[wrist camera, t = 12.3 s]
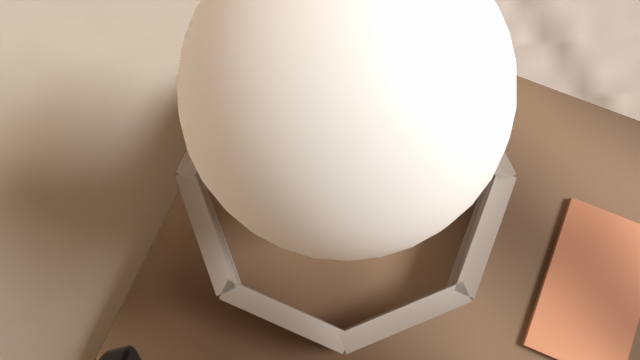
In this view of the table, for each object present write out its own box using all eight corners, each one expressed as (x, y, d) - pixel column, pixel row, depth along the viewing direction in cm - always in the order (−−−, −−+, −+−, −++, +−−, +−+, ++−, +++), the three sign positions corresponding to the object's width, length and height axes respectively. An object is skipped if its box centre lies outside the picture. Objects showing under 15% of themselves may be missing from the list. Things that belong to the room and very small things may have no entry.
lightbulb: (310, 323, 17) (288, 337, 6) (209, 167, 18) (42, -47, 7) (465, 214, 18) (683, 59, 7) (357, 73, 19) (402, -244, 8)
